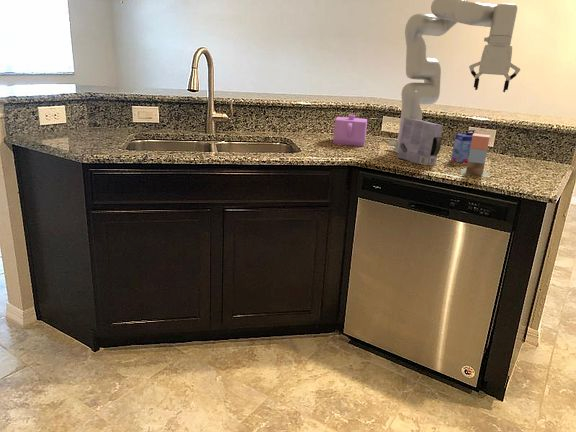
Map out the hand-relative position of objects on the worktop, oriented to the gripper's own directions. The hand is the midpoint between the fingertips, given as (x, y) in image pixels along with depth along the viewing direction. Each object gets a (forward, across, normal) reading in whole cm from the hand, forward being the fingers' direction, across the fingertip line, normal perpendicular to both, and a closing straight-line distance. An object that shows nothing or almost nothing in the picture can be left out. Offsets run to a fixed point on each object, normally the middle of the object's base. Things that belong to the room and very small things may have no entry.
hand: (489, 90), depth 173 cm
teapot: (+33, -62, +36) cm, 79 cm away
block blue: (+26, 0, 0) cm, 26 cm away
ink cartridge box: (+32, -6, +23) cm, 40 cm away
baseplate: (+32, 0, 0) cm, 32 cm away
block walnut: (+31, 0, 0) cm, 31 cm away
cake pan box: (+32, -24, +10) cm, 41 cm away
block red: (+21, 0, 0) cm, 21 cm away
